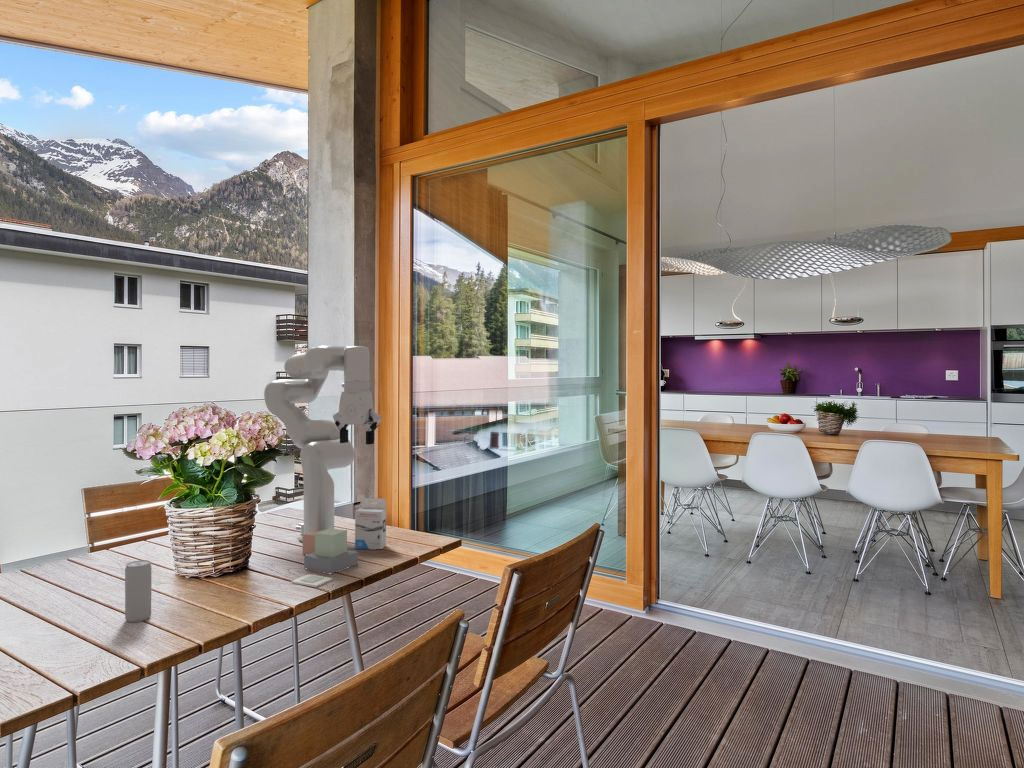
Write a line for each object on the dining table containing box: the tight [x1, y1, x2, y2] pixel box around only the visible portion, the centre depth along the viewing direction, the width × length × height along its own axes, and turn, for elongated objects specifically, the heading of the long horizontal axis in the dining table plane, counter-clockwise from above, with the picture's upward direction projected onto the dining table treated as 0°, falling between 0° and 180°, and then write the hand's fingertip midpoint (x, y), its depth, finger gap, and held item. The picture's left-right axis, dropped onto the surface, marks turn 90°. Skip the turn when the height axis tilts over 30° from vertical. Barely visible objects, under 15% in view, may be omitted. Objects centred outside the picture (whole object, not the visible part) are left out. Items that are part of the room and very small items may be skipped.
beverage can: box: [124, 559, 152, 624], centre depth 129 cm, size 5×5×12 cm
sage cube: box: [315, 528, 348, 557], centre depth 166 cm, size 6×6×6 cm
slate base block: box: [303, 549, 359, 574], centre depth 166 cm, size 10×10×4 cm
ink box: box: [354, 497, 387, 550], centre depth 185 cm, size 9×5×15 cm, turn 84°
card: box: [291, 573, 333, 588], centre depth 154 cm, size 8×6×1 cm
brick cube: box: [302, 530, 323, 555], centre depth 180 cm, size 6×6×6 cm
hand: (356, 443), depth 182 cm, fingers open, 9 cm apart
